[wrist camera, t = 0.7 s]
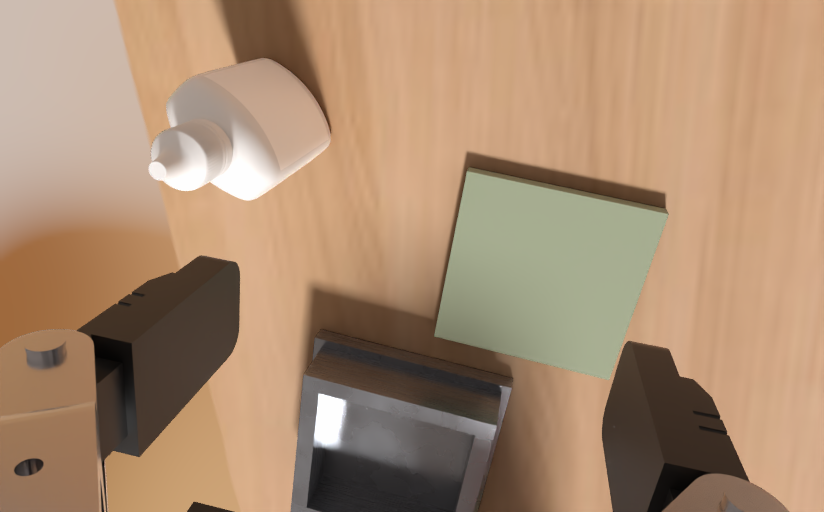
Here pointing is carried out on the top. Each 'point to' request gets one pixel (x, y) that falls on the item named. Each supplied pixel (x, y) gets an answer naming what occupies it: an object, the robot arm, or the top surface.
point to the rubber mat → (546, 271)
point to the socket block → (393, 430)
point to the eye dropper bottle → (239, 130)
